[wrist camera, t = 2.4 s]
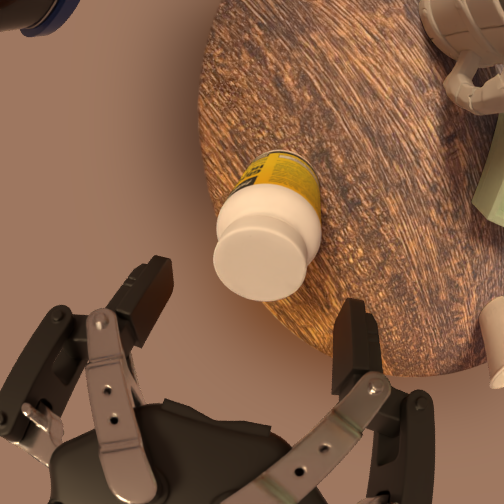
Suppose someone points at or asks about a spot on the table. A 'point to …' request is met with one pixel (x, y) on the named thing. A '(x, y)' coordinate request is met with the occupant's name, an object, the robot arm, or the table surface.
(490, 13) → the mug
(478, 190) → the tray
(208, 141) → the table surface
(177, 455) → the robot arm
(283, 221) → the pill bottle
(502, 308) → the dixie cup
